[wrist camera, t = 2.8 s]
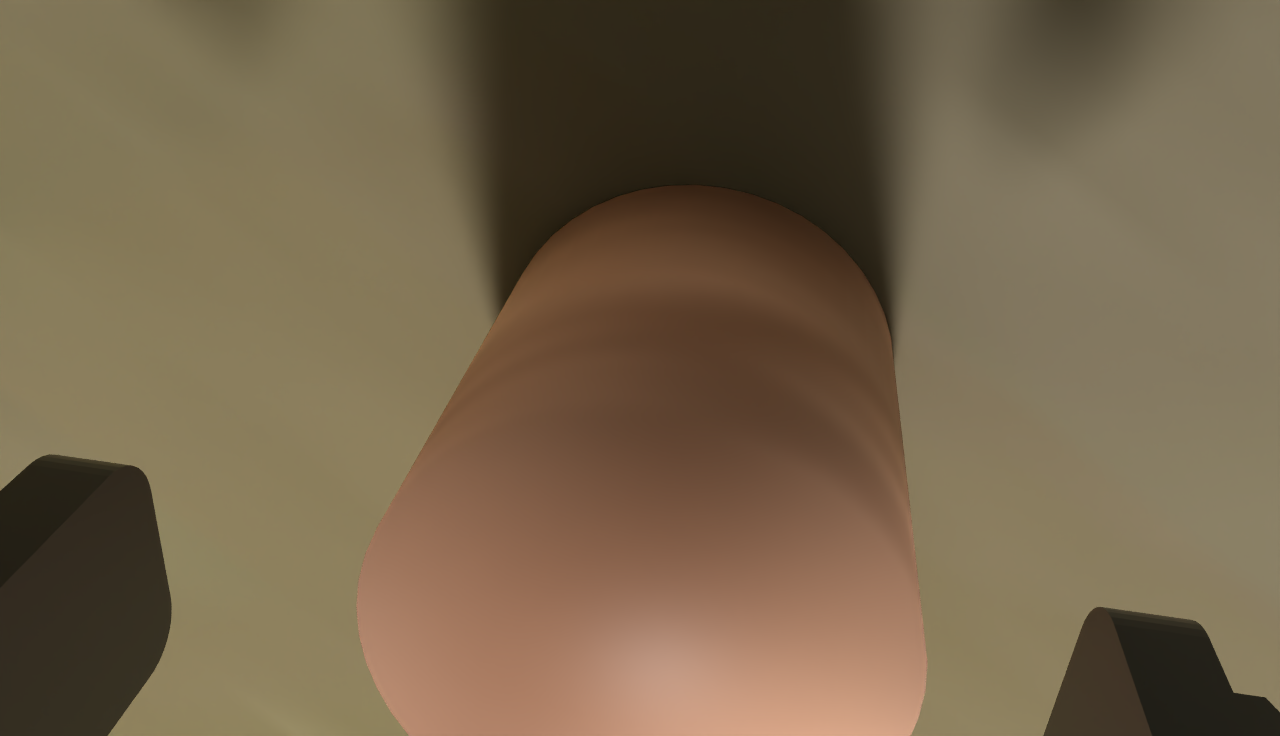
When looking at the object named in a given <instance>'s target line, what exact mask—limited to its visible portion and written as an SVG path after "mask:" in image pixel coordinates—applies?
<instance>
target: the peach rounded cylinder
mask: <svg viewBox="0 0 1280 736" xmlns="http://www.w3.org/2000/svg"><path fill="white" fill-rule="evenodd" d="M357 618H358V628H359V636H360V640H361V644H362V648H363V652H364V656H365V660H366V663H367V665H368V668H369V670H370V672H371V675H372V677H373V680H374V682H375V684H376V687H377V689H378V691H379V692H380V694H381V696H382V697H383V699H384V701H385V702H386V704H387V706H388V707H389V709H390V711H391V713H392V714H393V715H394V717H395V718H396V719H397V721H398V722H399V723H400V724H401V726H402V727H403V728H404V730H405V731H406V732H407V733H408V735H409V736H911V733H912V731H913V729H914V727H915V725H916V722H917V720H918V718H919V714H920V710H921V706H922V702H923V698H924V694H925V690H926V675H927V654H926V645H925V636H924V627H923V618H922V609H921V600H920V591H919V583H918V574H917V565H916V556H915V547H914V538H913V529H912V520H911V511H910V502H909V494H908V485H907V476H906V467H905V458H904V449H903V440H902V431H901V422H900V413H899V404H898V396H897V387H896V378H895V369H894V360H893V351H892V342H891V336H890V332H889V328H888V325H887V321H886V317H885V314H884V311H883V309H882V307H881V305H880V302H879V300H878V298H877V295H876V293H875V291H874V289H873V288H872V286H871V285H870V283H869V281H868V280H867V278H866V277H865V275H864V273H863V272H862V270H861V269H860V268H859V267H858V265H857V264H856V263H855V262H854V261H853V259H852V258H851V257H850V256H849V255H848V253H847V252H846V251H845V250H844V249H843V248H842V247H841V246H840V245H839V244H838V243H836V242H835V241H834V240H833V239H832V238H831V237H830V236H829V235H828V234H827V233H825V232H824V231H823V230H821V229H820V228H818V227H817V226H816V225H814V224H813V223H811V222H810V221H808V220H807V219H805V218H804V217H803V216H801V215H799V214H797V213H795V212H793V211H791V210H789V209H787V208H785V207H783V206H781V205H779V204H777V203H774V202H772V201H769V200H766V199H764V198H761V197H758V196H755V195H753V194H749V193H745V192H740V191H736V190H732V189H727V188H721V187H712V186H702V185H671V186H663V187H656V188H649V189H642V190H639V191H635V192H632V193H628V194H625V195H621V196H618V197H615V198H613V199H610V200H608V201H606V202H603V203H601V204H599V205H597V206H594V207H592V208H590V209H589V210H587V211H585V212H584V213H582V214H581V215H579V216H577V217H576V218H574V219H572V220H571V221H570V222H568V223H567V224H566V225H565V226H563V227H562V228H561V229H560V230H559V231H557V232H556V233H555V234H554V235H552V236H551V237H550V239H549V240H548V241H547V242H546V243H545V244H544V245H543V246H542V247H541V248H540V250H539V251H538V252H537V253H536V254H535V255H534V257H533V258H532V260H531V261H530V263H529V264H528V266H527V267H526V269H525V270H524V272H523V273H522V275H521V277H520V279H519V280H518V282H517V284H516V286H515V287H514V289H513V291H512V293H511V294H510V296H509V298H508V300H507V301H506V303H505V305H504V307H503V308H502V310H501V312H500V314H499V315H498V317H497V319H496V321H495V322H494V324H493V326H492V328H491V329H490V331H489V333H488V335H487V336H486V338H485V340H484V342H483V343H482V345H481V347H480V349H479V350H478V352H477V354H476V356H475V357H474V359H473V361H472V363H471V364H470V366H469V368H468V370H467V371H466V373H465V375H464V377H463V378H462V380H461V382H460V384H459V385H458V387H457V389H456V391H455V392H454V394H453V396H452V398H451V399H450V401H449V403H448V405H447V406H446V408H445V410H444V412H443V413H442V415H441V417H440V419H439V420H438V422H437V424H436V426H435V427H434V429H433V431H432V433H431V434H430V436H429V438H428V440H427V441H426V443H425V445H424V447H423V448H422V450H421V452H420V454H419V455H418V457H417V459H416V461H415V462H414V464H413V466H412V468H411V469H410V471H409V473H408V475H407V476H406V478H405V480H404V482H403V483H402V485H401V487H400V489H399V490H398V492H397V494H396V496H395V497H394V499H393V501H392V503H391V504H390V506H389V508H388V510H387V511H386V513H385V515H384V517H383V518H382V520H381V522H380V524H379V525H378V527H377V529H376V531H375V534H374V536H373V538H372V540H371V542H370V544H369V547H368V549H367V551H366V553H365V557H364V561H363V565H362V569H361V573H360V577H359V582H358V595H357Z"/></svg>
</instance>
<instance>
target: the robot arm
mask: <svg viewBox="0 0 1280 736" xmlns="http://www.w3.org/2000/svg"><path fill="white" fill-rule="evenodd" d="M170 624H171V597H170V591H169V586H168V581H167V575H166V570H165V564H164V559H163V553H162V548H161V543H160V537H159V532H158V526H157V521H156V515H155V510H154V504H153V499H152V494H151V489H150V485H149V482H148V480H147V477H146V476H145V474H144V473H143V471H141V470H140V469H139V468H137V467H135V466H131V465H124V464H117V463H110V462H103V461H96V460H89V459H82V458H75V457H68V456H61V455H46V456H42V457H40V458H38V459H36V460H35V461H34V462H32V463H31V464H30V465H29V466H27V467H26V468H25V469H24V470H23V471H22V472H21V473H20V474H19V475H17V476H16V477H15V478H14V479H13V480H12V481H11V482H10V483H9V484H8V485H6V486H5V487H4V488H3V489H2V490H1V491H0V736H108V734H109V733H110V731H111V730H112V729H113V727H114V726H115V725H116V723H117V722H118V720H119V719H120V718H121V716H122V715H123V713H124V712H125V711H126V709H127V708H128V707H129V705H130V704H131V702H132V701H133V700H134V698H135V697H136V695H137V694H138V693H139V691H140V690H141V688H142V687H143V686H144V684H145V683H146V682H147V680H148V679H149V677H150V676H151V674H152V673H153V671H154V670H155V668H156V666H157V664H158V662H159V660H160V658H161V656H162V653H163V651H164V648H165V645H166V642H167V638H168V634H169V629H170ZM1044 736H1280V712H1279V711H1278V710H1277V709H1276V708H1275V707H1274V706H1273V705H1272V704H1271V703H1270V702H1269V701H1268V700H1267V699H1266V698H1265V697H1258V696H1251V695H1244V694H1238V693H1233V691H1232V688H1231V686H1230V684H1229V682H1228V679H1227V677H1226V675H1225V673H1224V670H1223V668H1222V666H1221V664H1220V661H1219V659H1218V657H1217V655H1216V652H1215V650H1214V648H1213V646H1212V643H1211V641H1210V639H1209V637H1208V635H1207V633H1206V631H1205V630H1204V628H1203V627H1202V626H1201V625H1200V624H1199V623H1197V622H1196V621H1193V620H1188V619H1181V618H1174V617H1167V616H1160V615H1153V614H1146V613H1139V612H1132V611H1125V610H1118V609H1111V608H1104V607H1097V608H1095V609H1093V610H1092V611H1091V612H1090V613H1089V614H1088V616H1087V618H1086V619H1085V621H1084V624H1083V626H1082V629H1081V631H1080V634H1079V637H1078V640H1077V643H1076V646H1075V648H1074V651H1073V654H1072V657H1071V660H1070V662H1069V665H1068V668H1067V671H1066V674H1065V676H1064V679H1063V682H1062V685H1061V688H1060V691H1059V693H1058V696H1057V699H1056V702H1055V705H1054V707H1053V710H1052V713H1051V716H1050V719H1049V721H1048V724H1047V727H1046V730H1045V733H1044Z"/></svg>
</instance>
